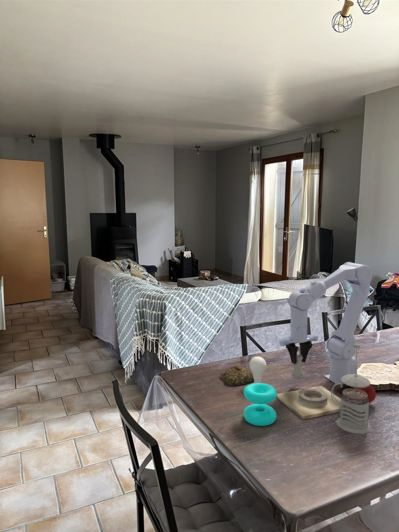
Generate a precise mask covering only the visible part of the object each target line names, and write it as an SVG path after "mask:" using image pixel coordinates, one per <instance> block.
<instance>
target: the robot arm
mask: <svg viewBox="0 0 399 532" xmlns="http://www.w3.org/2000/svg"><path fill="white" fill-rule="evenodd" d="M373 276H374V273H373V271H372V269H371V267H370V266H369V265H368V264H360V263H354V262H351V261H347V262H345V263H343V264H342V265H340V266H339V268H338V269H336V270H335V271H334V272H332V273H330V274H329V275H328V276H327V277H325V278H324V279H322V280H321V281H319V280H312V281H310V284H308V285H306V286H305V287H301V288H300V289H299V290H298V291H295V290H294V291H293V292H291V293H290V294H289V296H288V298H287V304H288V305H289V306H290V309H289V310H290V336H287V337H284V338H280V339H279V340H278V341H279V342H278V343H279V345H280V346H281V347H284V346H285V348H286V350H287V351H288V355H289V358H290V362H291V364H293V365H295V364H296V362H297V354H298V351H299V352H300V353H299V354H300V355H302V357H303V359H302V364H303V363H304V364H305V363H306V362H307V359H308V355H309V353H310V351H311V349H312V348H313V343H312V342H318V341H319V339H318V338H319V337H318V335H316V334H308V315H309V314H308V312H309V311H308V309H310V308H311V306H312V304H313V303H314V302H315V301H316V300H318V299H320V298H321V297H323V296H324V295H326V292H327V290H329V289H330V288H332V287H334V286H336V285H338V284H340V283H341V282H343V281H346V282H348V284H349V285H350V287H351V289H352V291H351V293H350V297H349V298H348V299H349V300H348V302H347V305H346V307H345V310H344V313H343V315H342V319H341V321H340V323H339V326H338V328H337V329H336V330H333V331H332V332H331V335H330V336H329V338H328V339H327V340H326V344H325V345H326V349H327V351H328V354H329V374H325V375H324V377H325V378H326V379H328V380H329V381H331V382H332V383H334V384H335V383H337V382H339V381H341V378H342V377H343V376H345V375H348V374H355V372H356V374H358V366H357V367H356V356H355V355H356V348H354V347H353V345H354V344H358V343H357V342H358V341H357V340H356V337H355V335H354V334H355V331H356V328H357V327H358V326H357V325H358V323H359V321H360V317H361V315H362V312H363V309H364V306H365V304H366V301H367V299H368V295H369V293H370V289H371V283H372V279H373ZM297 344H298V346H299V347H298V346H297ZM339 383H341V384H342V382H339ZM341 384H338V383H337V385H336V386H338V385H341ZM343 385H345V384H344V383H343Z"/></svg>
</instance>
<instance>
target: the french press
mask: <svg viewBox="0 0 399 532" xmlns="http://www.w3.org/2000/svg"><path fill="white" fill-rule="evenodd" d="M353 347H354V348H355V349H356V350H355V358H356V367H357V368H358V361H357V359H358V349H361V345H360V344H359V343H356V344H354V345H353ZM339 382H342V384H341V383H339ZM339 382H337V383H338V384H339V385H340V388H343V386H344V385H346V386H348V387H350V388H344V389H343V390H342V391H341V392H342V393H341V394H342V395H341V398H340V399H341V403H339V402H338V401H337V400H336V399H335V397H334V395H335V394H334V388H335V387H336V386H338V385H337V383H334V385H333V386H332V388H331V390H330V392H331V397H332V394H333V397H334V399H335V400H336V401H337V402H338V403H339V404H341V407H340V406H339V405H338V404H336V403H335V402H334V400H333V398H332V400H333V402H334V403H335V404H336V405H338V406H339V407H340V412H339V417H338V418H337V420H336V424H337V426H338V427H339V428H340V429H342V430H343V431H345V432H348V433H352V434H358V435H359V434H366V433H369V432H371V430H372V424H370V422H369V409H370V408H369V406H370V403H369V399H368V394H367V393H366V392H364V391H362V390H359V389H357V388H365V387H368V386H369V385H371V380H369V379H368V378H367V377H366V376H363V375H360V374H358V373H357V374H356V372H355V374H348V375H345V376H343V377H342V378H341V381H339ZM343 383H344V384H343ZM361 400H362V401H363V402H364V403H365V404H364V403H363V402H362V401H361ZM346 406H349V407H347V408H346ZM349 408H351V409H349Z"/></svg>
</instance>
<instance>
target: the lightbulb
mask: <svg viewBox="0 0 399 532" xmlns="http://www.w3.org/2000/svg"><path fill="white" fill-rule="evenodd" d="M248 365H249V366H248V367H249V369H250V371H251V372H252V373H253V378H254V381H253V383H262V380H263V375H264V373H265V371H266V369H267V362H266V360H265V359H264V358H263V357H262V356H254V357H252V358H251V359H250V361H249V364H248Z"/></svg>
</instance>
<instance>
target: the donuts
mask: <svg viewBox="0 0 399 532" xmlns="http://www.w3.org/2000/svg"><path fill="white" fill-rule="evenodd" d="M277 394H278V393H277V389H275V387H274V386H273V385H271V384H268V383H265V382H261V383H254V382H253V383H250V384H248V385H247V386H245V387H244V389H243V396H244V398H245V399H246V400H247V401H249V402H250V403H252V404H249V405H248V406H246V407H245V408H244V410H243V416H244V419H245V421H247V422H248V423H249V424H251V425H254V426H259V427H262V426H263V427H265V426H268V425H269V426H270V425H271V424H273V423H275V421H276V420H277V412H276V410H275V409H274V408H273V407H272V406H271V405H270V404H271V403H273V402H274V401H275V400H276V398H277V397H276V396H277ZM268 404H269V405H268Z"/></svg>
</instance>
